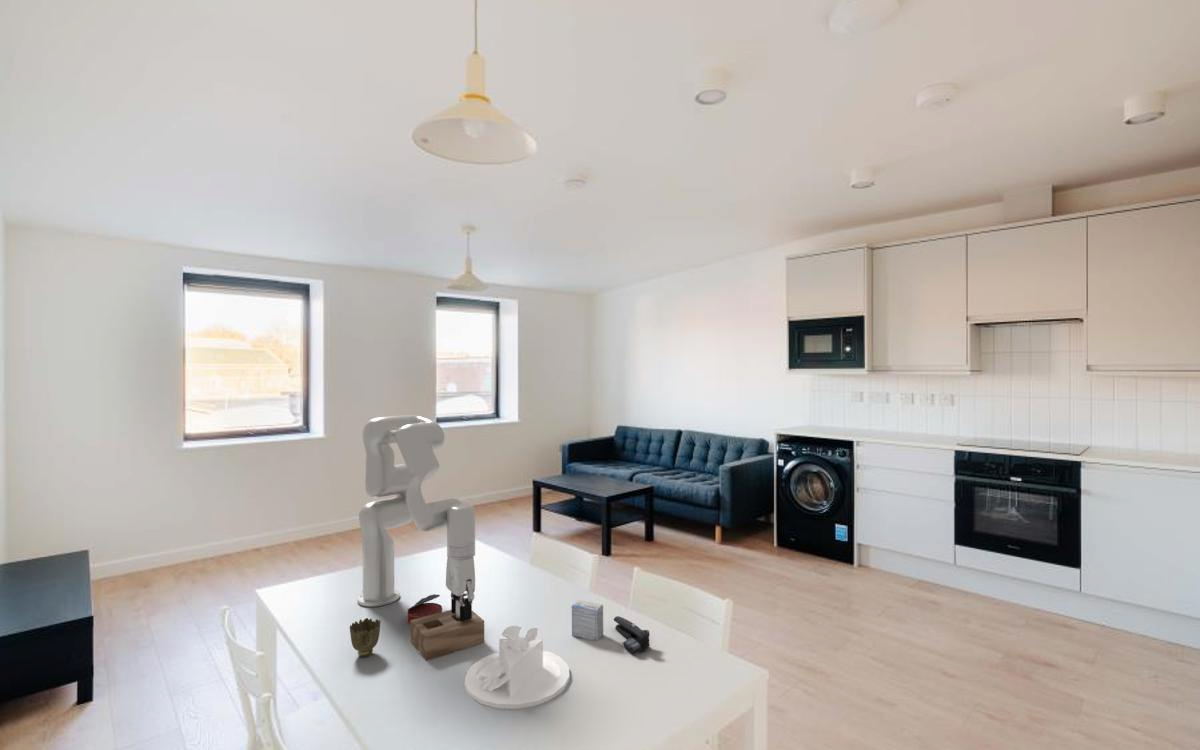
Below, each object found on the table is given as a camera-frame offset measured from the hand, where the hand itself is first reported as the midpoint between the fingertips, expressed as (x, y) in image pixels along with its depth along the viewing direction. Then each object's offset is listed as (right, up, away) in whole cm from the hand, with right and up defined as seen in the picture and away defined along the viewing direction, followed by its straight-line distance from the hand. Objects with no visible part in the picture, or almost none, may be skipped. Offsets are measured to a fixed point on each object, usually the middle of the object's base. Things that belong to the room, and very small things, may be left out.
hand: (461, 615), depth 157 cm
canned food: (-14, -7, +12) cm, 20 cm away
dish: (+18, -7, -20) cm, 28 cm away
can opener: (+46, -7, -1) cm, 47 cm away
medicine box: (+35, -7, +2) cm, 35 cm away
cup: (-23, -7, -9) cm, 25 cm away
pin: (0, -5, 0) cm, 5 cm away
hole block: (-3, -6, -2) cm, 8 cm away
